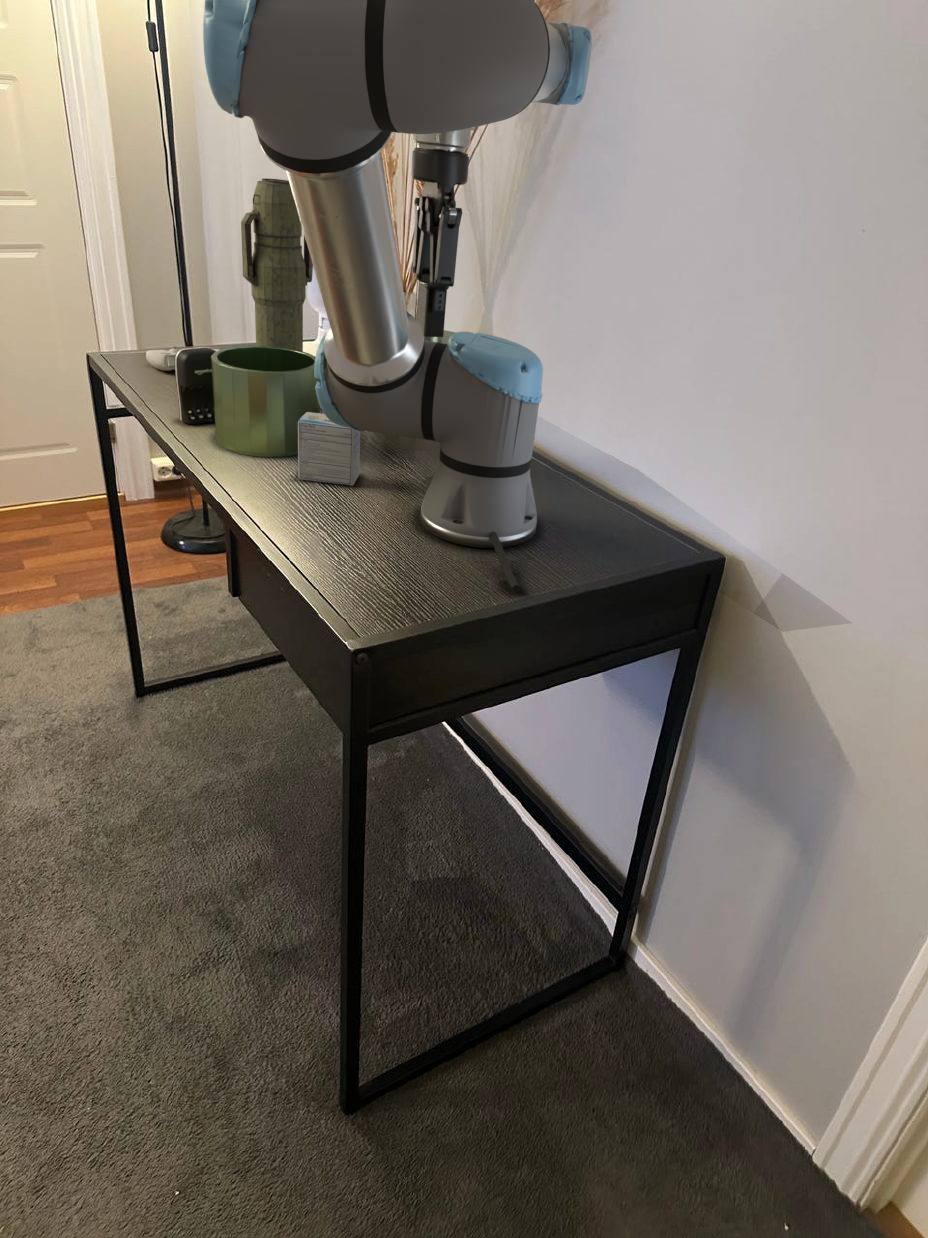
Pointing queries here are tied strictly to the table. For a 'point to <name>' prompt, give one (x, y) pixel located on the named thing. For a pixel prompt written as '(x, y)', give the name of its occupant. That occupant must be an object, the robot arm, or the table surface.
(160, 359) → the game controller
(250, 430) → the green pot
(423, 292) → the bin lid
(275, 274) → the thermos
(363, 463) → the table surface
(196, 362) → the battery charger
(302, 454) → the medicine box
